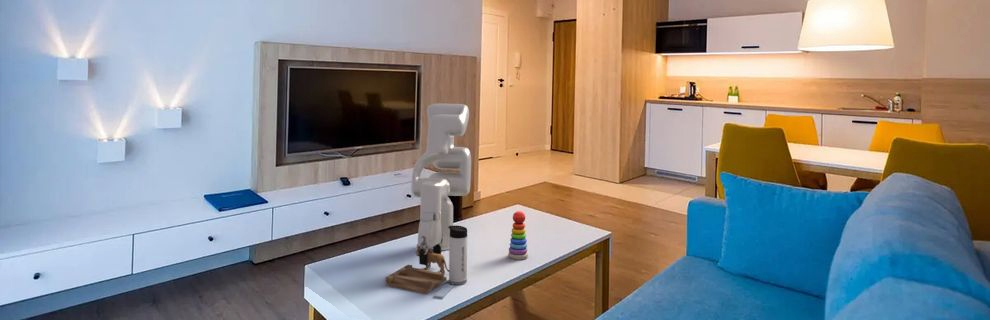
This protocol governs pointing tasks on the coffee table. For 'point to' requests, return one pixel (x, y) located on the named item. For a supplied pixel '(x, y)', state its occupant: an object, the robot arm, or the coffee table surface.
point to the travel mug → (458, 255)
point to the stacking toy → (518, 237)
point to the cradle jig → (415, 279)
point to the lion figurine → (434, 260)
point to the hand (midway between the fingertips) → (430, 260)
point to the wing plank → (443, 291)
